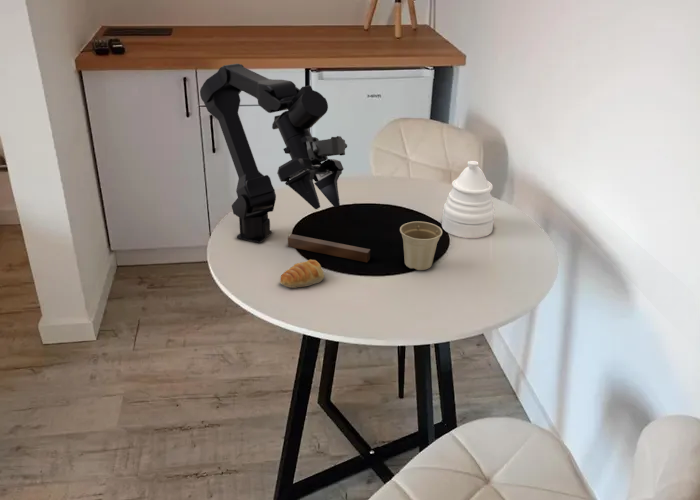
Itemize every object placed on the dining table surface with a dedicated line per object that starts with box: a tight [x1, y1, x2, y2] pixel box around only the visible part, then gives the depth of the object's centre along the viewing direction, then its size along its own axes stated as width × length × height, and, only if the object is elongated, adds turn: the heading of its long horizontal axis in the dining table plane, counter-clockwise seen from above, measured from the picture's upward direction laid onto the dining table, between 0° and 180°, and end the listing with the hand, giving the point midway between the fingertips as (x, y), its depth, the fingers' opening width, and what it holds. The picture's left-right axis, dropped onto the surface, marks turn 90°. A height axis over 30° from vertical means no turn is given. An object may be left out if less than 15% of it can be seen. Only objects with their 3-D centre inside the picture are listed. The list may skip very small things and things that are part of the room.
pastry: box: [279, 258, 325, 289], centre depth 146 cm, size 9×7×4 cm
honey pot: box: [441, 160, 496, 239], centre depth 169 cm, size 13×13×18 cm
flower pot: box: [399, 220, 443, 271], centre depth 153 cm, size 9×9×9 cm
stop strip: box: [287, 233, 371, 263], centre depth 158 cm, size 20×2×2 cm, turn 69°
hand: (328, 207), depth 138 cm, fingers open, 9 cm apart
